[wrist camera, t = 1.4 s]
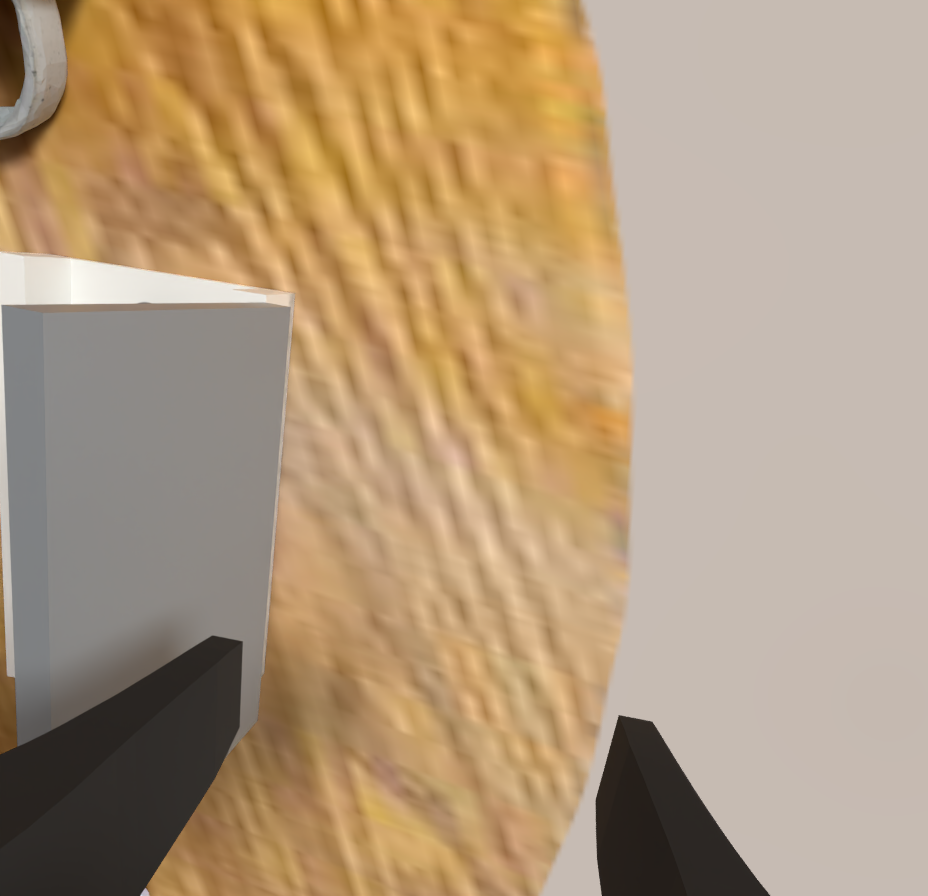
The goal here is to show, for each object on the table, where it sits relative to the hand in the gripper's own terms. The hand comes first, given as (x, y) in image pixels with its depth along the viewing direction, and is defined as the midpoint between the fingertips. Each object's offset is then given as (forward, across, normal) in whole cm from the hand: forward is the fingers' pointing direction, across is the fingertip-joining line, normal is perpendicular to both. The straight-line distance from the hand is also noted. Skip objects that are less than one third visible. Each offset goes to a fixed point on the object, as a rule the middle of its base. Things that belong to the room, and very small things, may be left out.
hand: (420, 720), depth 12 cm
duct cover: (+3, +7, 0) cm, 8 cm away
